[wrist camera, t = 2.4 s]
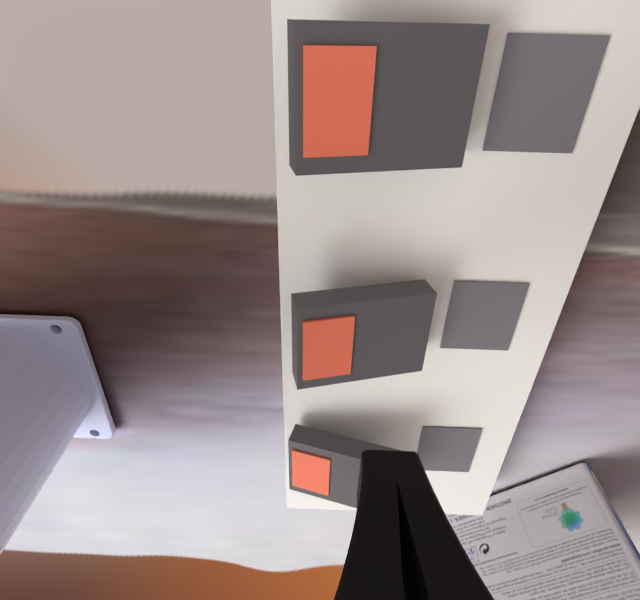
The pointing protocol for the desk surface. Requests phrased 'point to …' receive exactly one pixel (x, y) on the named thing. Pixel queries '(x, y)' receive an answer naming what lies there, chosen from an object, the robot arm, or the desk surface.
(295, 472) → the rocker far end
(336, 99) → the block
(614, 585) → the ink cartridge box
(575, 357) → the desk surface
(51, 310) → the desk surface
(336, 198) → the power strip
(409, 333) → the rocker middle
